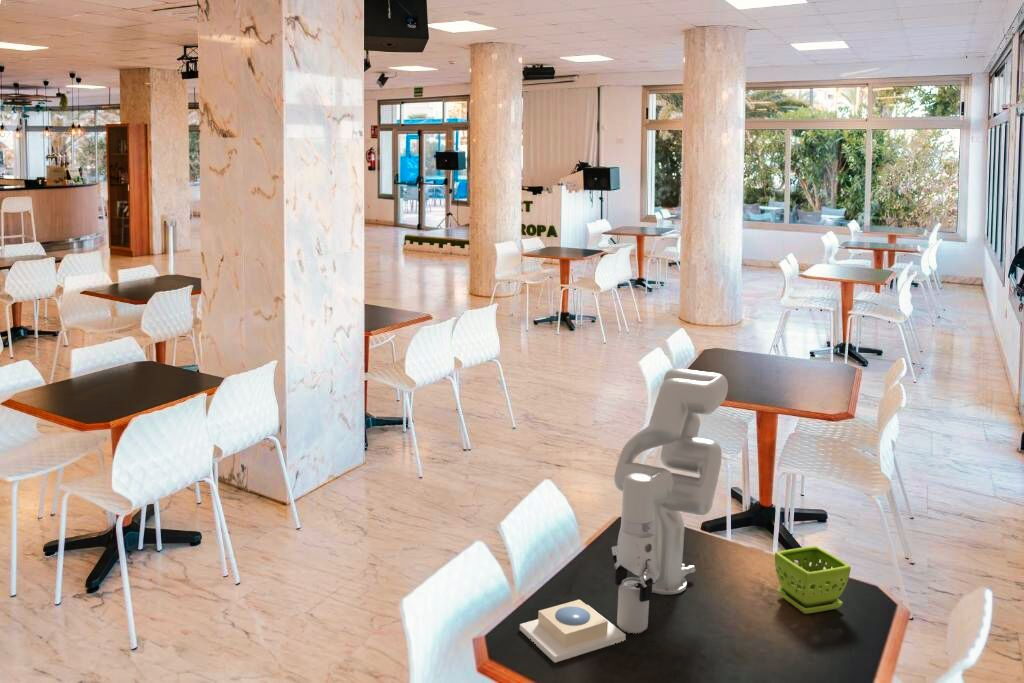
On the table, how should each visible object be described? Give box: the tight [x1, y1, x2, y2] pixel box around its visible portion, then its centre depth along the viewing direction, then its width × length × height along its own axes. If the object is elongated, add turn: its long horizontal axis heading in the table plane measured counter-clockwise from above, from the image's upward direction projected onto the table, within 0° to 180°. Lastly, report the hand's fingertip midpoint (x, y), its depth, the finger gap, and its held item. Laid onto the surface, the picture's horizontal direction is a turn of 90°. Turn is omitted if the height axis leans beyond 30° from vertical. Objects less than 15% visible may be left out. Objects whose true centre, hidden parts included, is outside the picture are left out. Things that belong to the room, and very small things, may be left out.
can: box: [616, 576, 650, 635], centre depth 213 cm, size 8×8×12 cm
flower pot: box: [774, 545, 852, 615], centre depth 226 cm, size 14×14×13 cm
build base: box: [519, 599, 627, 663], centre depth 210 cm, size 20×16×5 cm
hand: (632, 591), depth 212 cm, fingers open, 9 cm apart
